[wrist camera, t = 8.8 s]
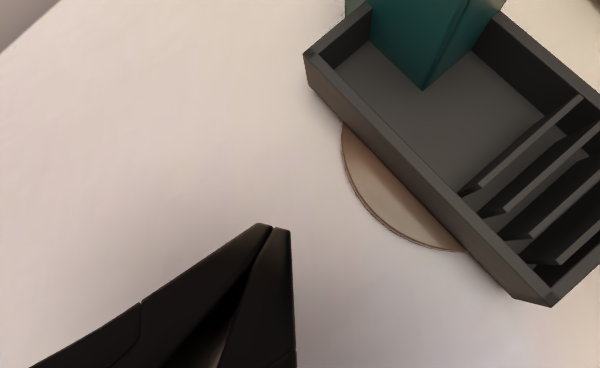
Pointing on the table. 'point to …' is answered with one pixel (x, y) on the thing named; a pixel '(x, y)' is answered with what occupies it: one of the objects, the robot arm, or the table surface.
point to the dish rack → (474, 132)
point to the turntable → (391, 197)
